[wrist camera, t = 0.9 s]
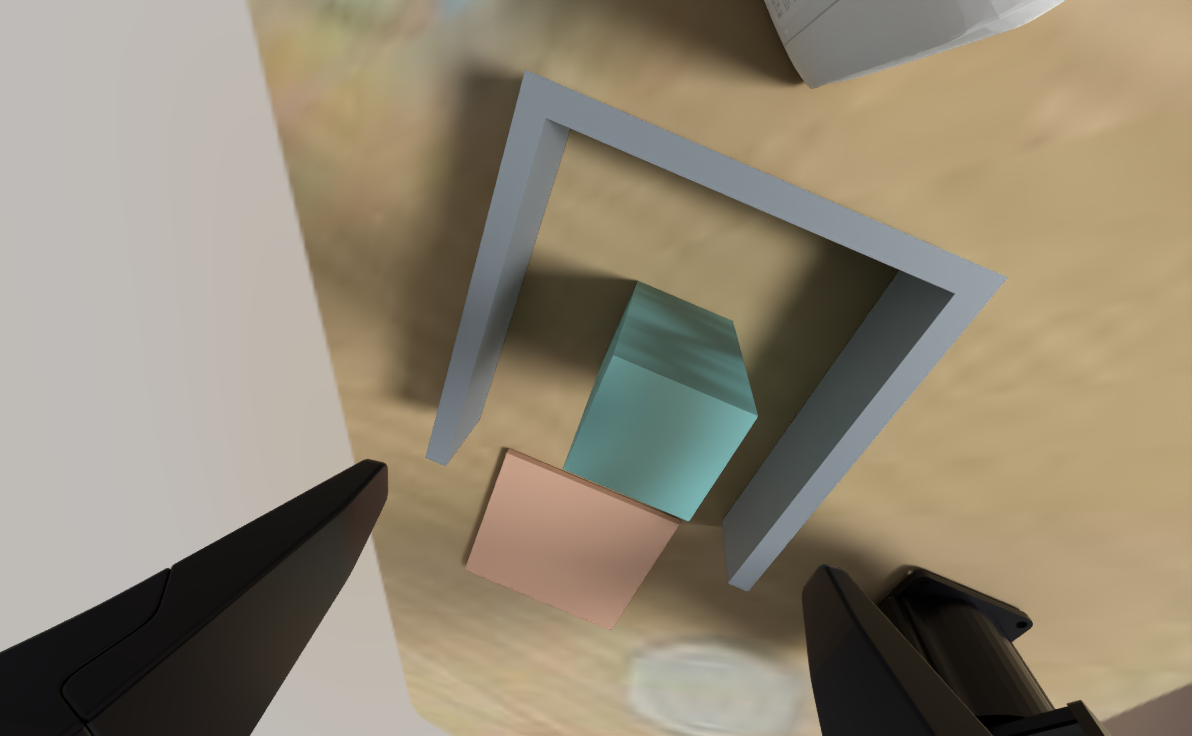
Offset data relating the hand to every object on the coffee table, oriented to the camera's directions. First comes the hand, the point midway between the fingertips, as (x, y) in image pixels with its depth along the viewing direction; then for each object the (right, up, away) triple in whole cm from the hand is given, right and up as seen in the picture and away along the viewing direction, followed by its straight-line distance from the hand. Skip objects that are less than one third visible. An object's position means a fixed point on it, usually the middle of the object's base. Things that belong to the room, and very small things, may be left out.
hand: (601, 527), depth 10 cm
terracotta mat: (-2, -7, +18) cm, 20 cm away
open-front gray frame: (+3, +4, +12) cm, 13 cm away
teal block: (+3, +4, +12) cm, 13 cm away
